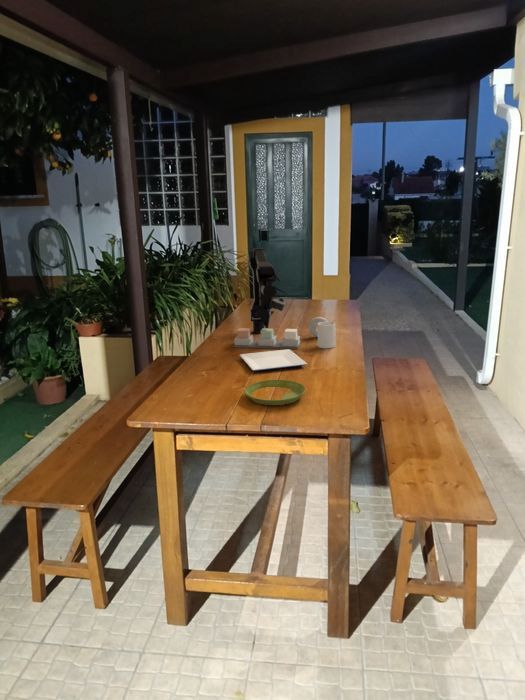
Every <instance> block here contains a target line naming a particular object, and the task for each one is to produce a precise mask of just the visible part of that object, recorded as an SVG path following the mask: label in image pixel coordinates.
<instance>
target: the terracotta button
mask: <svg viewBox="0 0 525 700" xmlns="http://www.w3.org/2000/svg"><path fill="white" fill-rule="evenodd" d="M250 335H251V328H250V327H249V328H248V327H238V329H237V330H236V337H237V338H246V339H248V338H249V337H250Z"/></svg>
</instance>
